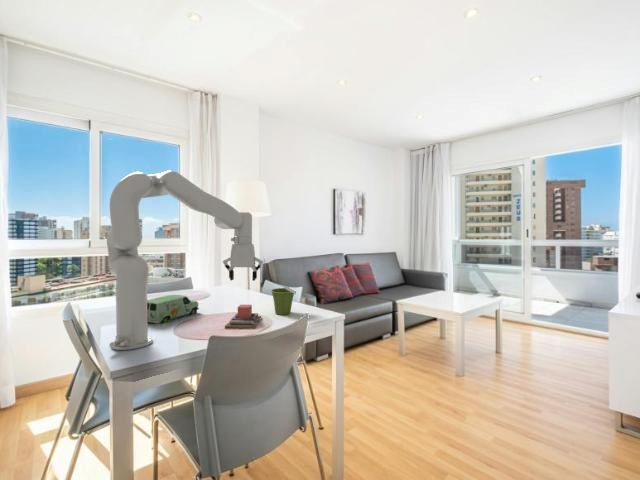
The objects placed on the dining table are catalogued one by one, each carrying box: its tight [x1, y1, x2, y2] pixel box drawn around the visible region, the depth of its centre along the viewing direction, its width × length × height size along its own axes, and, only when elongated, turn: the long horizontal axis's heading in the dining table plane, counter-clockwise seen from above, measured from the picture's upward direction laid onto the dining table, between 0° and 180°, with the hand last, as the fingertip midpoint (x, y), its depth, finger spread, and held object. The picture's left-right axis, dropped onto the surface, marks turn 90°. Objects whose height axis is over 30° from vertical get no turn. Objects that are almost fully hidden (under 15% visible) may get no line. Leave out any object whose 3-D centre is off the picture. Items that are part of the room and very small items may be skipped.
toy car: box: [147, 294, 200, 325], centre depth 151 cm, size 11×25×10 cm, turn 158°
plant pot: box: [270, 287, 295, 316], centre depth 160 cm, size 12×12×11 cm
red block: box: [237, 304, 253, 318], centre depth 145 cm, size 5×5×6 cm
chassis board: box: [224, 312, 262, 330], centre depth 143 cm, size 16×12×3 cm
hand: (243, 280), depth 144 cm, fingers open, 9 cm apart
